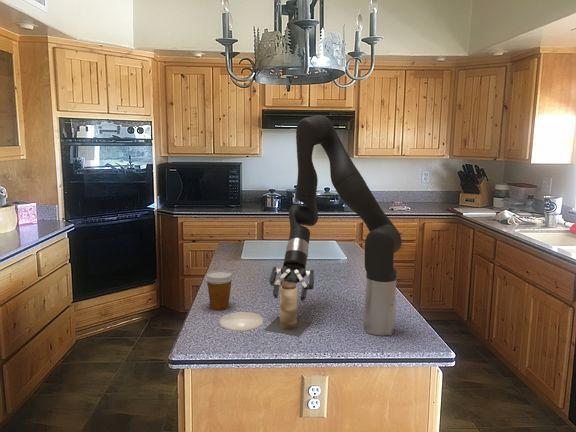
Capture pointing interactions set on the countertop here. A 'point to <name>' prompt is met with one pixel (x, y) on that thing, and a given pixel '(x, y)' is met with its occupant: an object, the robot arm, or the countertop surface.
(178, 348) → the countertop surface
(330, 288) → the countertop surface
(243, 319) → the plate
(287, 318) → the pepper mill
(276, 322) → the mat
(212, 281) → the disposable coffee cup
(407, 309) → the countertop surface
